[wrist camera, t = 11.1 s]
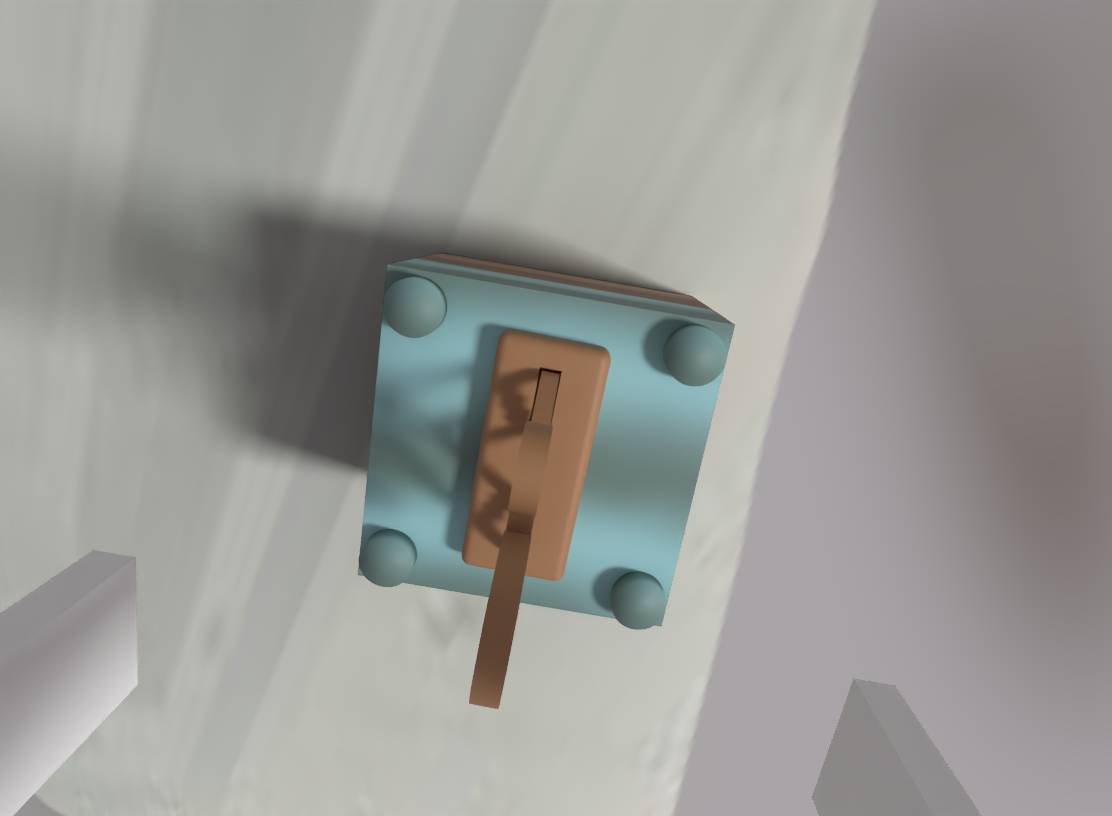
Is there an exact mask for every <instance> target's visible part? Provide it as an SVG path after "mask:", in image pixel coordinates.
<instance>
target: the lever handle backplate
mask: <svg viewBox="0 0 1112 816" xmlns="http://www.w3.org/2000/svg"><path fill="white" fill-rule="evenodd" d="M610 363H611V357H610V353H609V351H608V350H607V349H606V348H604V347H602V346H597V345H592V344H587V343H582V342H577V341H572V340H567V339H562V338H557V337H552V336H547V335H542V334H537V333H532V332H527V331H522V330H517V329H506V330H504V331H503V332H502V333H501V335H500V336H499V338H498V343H497V349H496V355H495V361H494V367H493V373H492V378H491V384H490V390H489V396H488V402H487V408H486V414H485V419H484V425H483V431H482V437H481V443H480V449H479V455H478V460H477V466H476V472H475V478H474V484H473V490H472V496H471V501H470V507H469V513H468V519H467V525H466V531H465V537H464V542H463V548H462V560H463V561H464V562H465V563H466V564H468V565H472V566H477V567H482V568H488V569H493V570H495V571H494V576H493V581H492V585H491V590H490V595H489V599H488V604H487V609H486V614H485V619H484V623H483V628H482V633H481V638H480V644H479V649H478V654H477V659H476V664H475V670H474V675H473V681H472V686H471V692H470V699H469V704H474V705H480V706H485V707H490V708H495V709H498V708H499V704H500V699H501V695H502V690H503V685H504V680H505V676H506V671H507V666H508V661H509V656H510V651H511V646H512V640H513V635H514V630H515V625H516V620H517V614H518V609H519V604H520V599H521V593H522V588H523V583H524V577H525V576H529V577H534V578H539V579H545V580H550V581H558V580H560V579H561V578H562V577H563V575H564V572H565V567H566V562H567V558H568V553H569V549H570V544H571V540H572V535H573V531H574V526H575V522H576V517H577V513H578V508H579V504H580V499H581V494H582V490H583V485H584V481H585V476H586V472H587V467H588V463H589V458H590V454H591V449H592V445H593V440H594V436H595V431H596V427H597V422H598V417H599V413H600V408H601V404H602V399H603V395H604V390H605V386H606V381H607V377H608V372H609V368H610Z"/></svg>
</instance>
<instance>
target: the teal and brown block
mask: <svg viewBox="0 0 1112 816" xmlns="http://www.w3.org/2000/svg"><path fill="white" fill-rule="evenodd" d="M734 326H735V325H734V324H733V323H731V322H730V321H728V320H727V319H726V318H724V317H723V316H721V315H720V314H718V313H717V312H715V311H714V310H712V309H711V308H709V307H708V306H706V305H705V304H703V303H702V302H700V301H699V300H697V299H696V298H694V297H693V296H687V295H681V294H675V293H670V292H664V291H658V290H652V289H647V288H641V287H635V286H629V285H624V284H618V283H612V282H606V281H601V280H595V279H589V278H583V277H578V276H572V275H566V274H560V273H555V272H549V271H543V270H537V269H532V268H526V267H520V266H514V265H509V264H503V263H497V262H491V261H486V260H480V259H474V258H468V257H463V256H457V255H451V254H445V253H439V254H434V255H429V256H425V257H420V258H415V259H411V260H406V261H401V262H396V263H392V264H387V274H386V284H385V295H384V300H383V316H382V327H381V337H380V348H379V358H378V369H377V379H376V390H375V400H374V411H373V421H372V432H371V442H370V453H369V463H368V474H367V484H366V495H365V505H364V516H363V526H362V537H361V547H360V555H359V568H358V575H361V576H365V577H366V578H367V579H368V580H369V581H371V582H372V583H374V584H376V585H379V586H383V587H393V586H397V585H399V584H401V583H408V584H414V585H420V586H426V587H432V588H438V589H444V590H449V591H455V592H461V593H467V594H473V595H479V596H485V597H489V595H490V590H491V585H492V581H493V576H494V571H495V570H493V569H488V568H482V567H477V566H472V565H468V564H466V563H465V562H464V561H463V560H462V548H463V542H464V537H465V531H466V525H467V519H468V513H469V507H470V501H471V496H472V490H473V484H474V478H475V472H476V466H477V460H478V455H479V449H480V443H481V437H482V431H483V425H484V419H485V414H486V408H487V402H488V396H489V390H490V384H491V378H492V373H493V367H494V361H495V355H496V349H497V343H498V338H499V336H500V335H501V333H502V332H503V331H504V330H506V329H517V330H522V331H527V332H532V333H537V334H542V335H547V336H552V337H557V338H562V339H567V340H572V341H577V342H582V343H587V344H592V345H597V346H602V347H604V348H606V349H607V350H608V351H609V353H610V357H611V363H610V368H609V372H608V377H607V381H606V386H605V390H604V395H603V399H602V404H601V408H600V413H599V417H598V422H597V427H596V431H595V436H594V440H593V445H592V449H591V454H590V458H589V463H588V467H587V472H586V476H585V481H584V485H583V490H582V494H581V499H580V504H579V508H578V513H577V517H576V522H575V526H574V531H573V535H572V540H571V544H570V549H569V553H568V558H567V562H566V567H565V572H564V575H563V577H562V578H561V579H560V580H558V581H550V580H545V579H539V578H534V577H529V576H525V577H524V583H523V588H522V593H521V599H520V603H526V604H532V605H538V606H544V607H550V608H556V609H561V610H567V611H573V612H579V613H585V614H591V615H597V616H603V617H609V618H614V619H617V620H618V621H619V622H620V623H621V624H622V625H624V626H626V627H628V628H631V629H646V628H649V627H652V626H654V625H656V626H662V622H663V618H664V613H665V609H666V605H667V601H668V597H669V593H670V589H671V585H672V581H673V577H674V572H675V568H676V564H677V560H678V556H679V552H680V548H681V544H682V540H683V536H684V531H685V527H686V523H687V519H688V515H689V511H690V507H691V503H692V499H693V495H694V490H695V486H696V482H697V478H698V474H699V470H700V466H701V462H702V458H703V453H704V449H705V445H706V441H707V437H708V433H709V429H710V425H711V421H712V417H713V412H714V408H715V404H716V400H717V396H718V392H719V388H720V384H721V380H722V376H723V371H724V367H725V363H726V359H727V355H728V351H729V347H730V343H731V339H732V335H733V330H734Z"/></svg>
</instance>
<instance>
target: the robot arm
mask: <svg viewBox="0 0 1112 816" xmlns="http://www.w3.org/2000/svg"><path fill="white" fill-rule="evenodd" d="M137 685H138V675H137V614H136V557H130V556H124V555H118V554H112V553H107V552H101V551H95V550H93V551H91V552H90V553H88V554H87V555H86V556H84V557H83V558H81V559H80V560H78V561H77V562H75V563H74V564H72V565H71V566H69V567H68V568H66V569H65V570H64V571H62V572H61V573H59V574H58V575H56V576H55V577H53V578H52V579H50V580H49V581H47V582H46V583H44V584H43V585H42V586H40V587H39V588H37V589H36V590H34V591H33V592H31V593H30V594H28V595H27V596H25V597H24V598H22V599H21V600H20V601H18V602H17V603H15V604H14V605H12V606H11V607H9V608H8V609H6V610H5V611H3V612H2V613H0V816H13V815H14V814H15V813H16V812H17V811H18V810H19V809H20V808H21V807H22V806H23V805H24V803H26V801H27V800H28V799H29V798H30V797H31V796H32V795H33V794H34V793H35V792H36V791H37V790H38V789H39V788H40V787H41V786H42V785H43V784H44V783H45V781H46V780H47V779H48V778H49V777H50V776H51V775H52V774H53V773H54V772H55V771H56V770H57V769H58V768H59V767H60V766H61V765H62V764H63V763H64V761H65V760H66V759H67V758H68V757H69V756H70V755H71V754H72V753H73V752H74V751H75V750H76V749H77V748H78V747H79V746H80V745H81V744H82V743H83V742H84V740H85V739H86V738H87V737H88V736H89V735H90V734H91V733H92V732H93V731H94V730H95V729H96V728H97V727H98V726H99V725H100V724H101V723H102V722H103V720H104V719H105V718H106V717H107V716H108V715H109V714H110V713H111V712H112V711H113V710H114V709H115V708H116V707H117V706H118V705H119V704H120V703H121V702H122V700H123V699H124V698H125V697H126V696H127V695H128V694H129V693H130V692H131V691H132V690H133V689H134V688H135V687H136V686H137ZM812 798H813V801H814V804H815V806H816V809H817V811H818V814H819V816H982V815H981V814H980V812H979V811H978V809H977V808H976V806H975V805H974V803H973V802H972V800H971V799H970V797H969V796H968V794H967V793H966V791H965V790H964V788H963V787H962V785H961V784H960V782H959V781H958V779H957V778H956V776H955V775H954V773H953V772H952V770H951V769H950V767H949V766H948V764H947V763H946V761H945V760H944V758H943V757H942V755H941V754H940V752H939V751H938V749H937V748H936V746H935V745H934V743H933V742H932V740H931V739H930V737H929V736H928V734H927V733H926V731H925V730H924V728H923V727H922V725H921V724H920V722H919V721H918V719H917V718H916V716H915V715H914V713H913V712H912V710H911V709H910V707H909V706H908V704H907V703H906V701H905V700H904V698H903V697H902V695H901V694H900V692H899V691H898V689H897V688H896V686H894V685H888V684H882V683H877V682H871V681H865V680H859V679H853V682H852V685H851V688H850V691H849V694H848V696H847V699H846V702H845V705H844V708H843V711H842V713H841V716H840V719H839V722H838V725H837V728H836V730H835V733H834V736H833V739H832V742H831V745H830V748H829V750H828V753H827V756H826V759H825V762H824V764H823V767H822V770H821V773H820V776H819V779H818V782H817V784H816V787H815V790H814V793H813V796H812Z"/></svg>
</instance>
